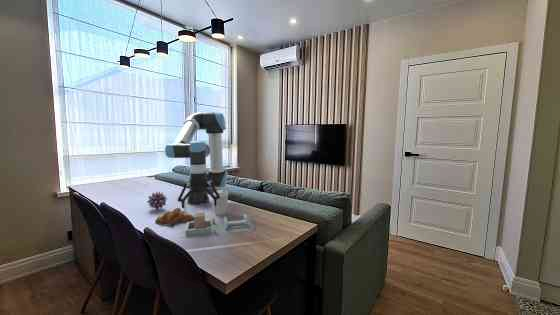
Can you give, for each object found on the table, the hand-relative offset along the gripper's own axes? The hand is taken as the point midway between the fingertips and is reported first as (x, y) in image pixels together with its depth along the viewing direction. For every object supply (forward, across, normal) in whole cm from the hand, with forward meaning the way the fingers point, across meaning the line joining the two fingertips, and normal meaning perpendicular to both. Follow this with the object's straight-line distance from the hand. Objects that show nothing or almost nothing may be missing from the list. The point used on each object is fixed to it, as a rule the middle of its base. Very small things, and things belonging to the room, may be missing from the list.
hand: (199, 213), depth 123 cm
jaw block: (+9, 0, 0) cm, 9 cm away
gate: (+8, +18, -1) cm, 20 cm away
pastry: (+10, -14, +17) cm, 24 cm away
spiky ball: (+11, -27, +43) cm, 52 cm away
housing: (+10, +9, -1) cm, 13 cm away
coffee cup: (+10, +12, +21) cm, 26 cm away
